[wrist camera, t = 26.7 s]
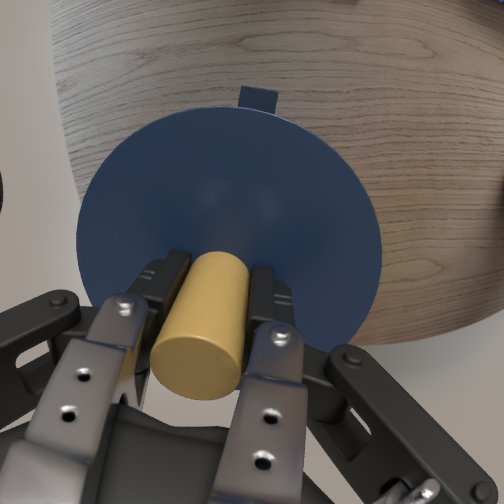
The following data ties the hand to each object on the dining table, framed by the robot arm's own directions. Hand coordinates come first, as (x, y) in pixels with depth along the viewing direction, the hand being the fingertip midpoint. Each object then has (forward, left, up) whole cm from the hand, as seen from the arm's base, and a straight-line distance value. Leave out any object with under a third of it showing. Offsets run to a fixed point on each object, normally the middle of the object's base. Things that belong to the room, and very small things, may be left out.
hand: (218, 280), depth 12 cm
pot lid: (0, 0, -1) cm, 1 cm away
